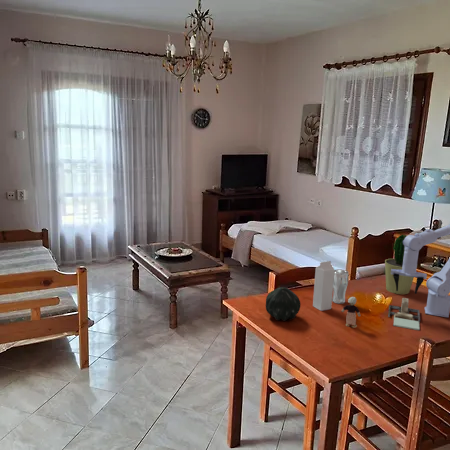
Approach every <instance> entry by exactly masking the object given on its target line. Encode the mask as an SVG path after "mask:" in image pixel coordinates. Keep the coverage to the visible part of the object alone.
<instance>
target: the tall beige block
mask: <svg viewBox="0 0 450 450" xmlns="http://www.w3.org/2000/svg"><path fill="white" fill-rule="evenodd" d="M400 307H401V310H400V313H406V314H408V308H409V298H406V297H402V298H401V306H400Z"/></svg>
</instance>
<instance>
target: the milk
mask: <svg viewBox="0 0 450 450" xmlns="http://www.w3.org/2000/svg"><path fill="white" fill-rule="evenodd" d="M319 264H320V265H318V266H316V267H315V271H314V272H315V273H314V285H313V297H312V307H314V308H315V309H317V310H319V311H321V312H322V311H328V310H331V309H332V305H333V304H332V303H333V301H332V298H333V294H334V291H333V282H334V271H335V270H336V269H335V268H334V266H333V265H332V261H331V260H329V261H328V260H327V261H322V262H321V261H320V263H319Z"/></svg>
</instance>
